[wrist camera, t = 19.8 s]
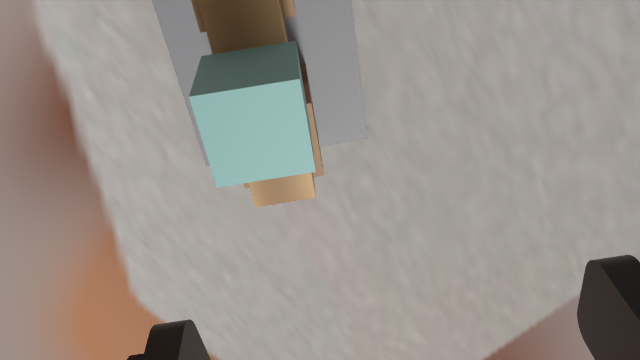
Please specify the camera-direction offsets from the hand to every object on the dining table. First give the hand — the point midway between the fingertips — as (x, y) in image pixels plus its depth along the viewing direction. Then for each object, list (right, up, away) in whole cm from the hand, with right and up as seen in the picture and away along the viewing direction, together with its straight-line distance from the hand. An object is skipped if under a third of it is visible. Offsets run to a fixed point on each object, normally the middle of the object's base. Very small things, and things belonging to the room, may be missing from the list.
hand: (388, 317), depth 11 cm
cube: (-4, +7, +15) cm, 17 cm away
